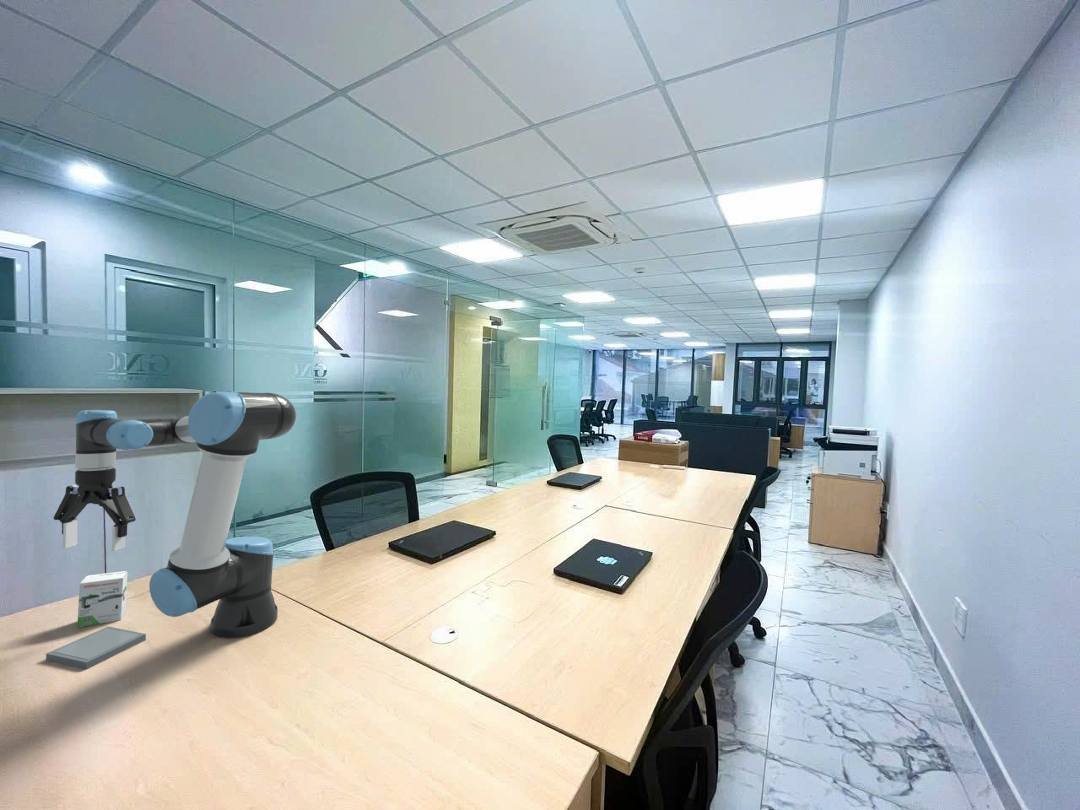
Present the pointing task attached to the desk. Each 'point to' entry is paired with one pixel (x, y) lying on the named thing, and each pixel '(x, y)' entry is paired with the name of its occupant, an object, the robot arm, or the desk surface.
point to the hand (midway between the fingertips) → (94, 547)
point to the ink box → (102, 598)
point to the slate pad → (95, 647)
